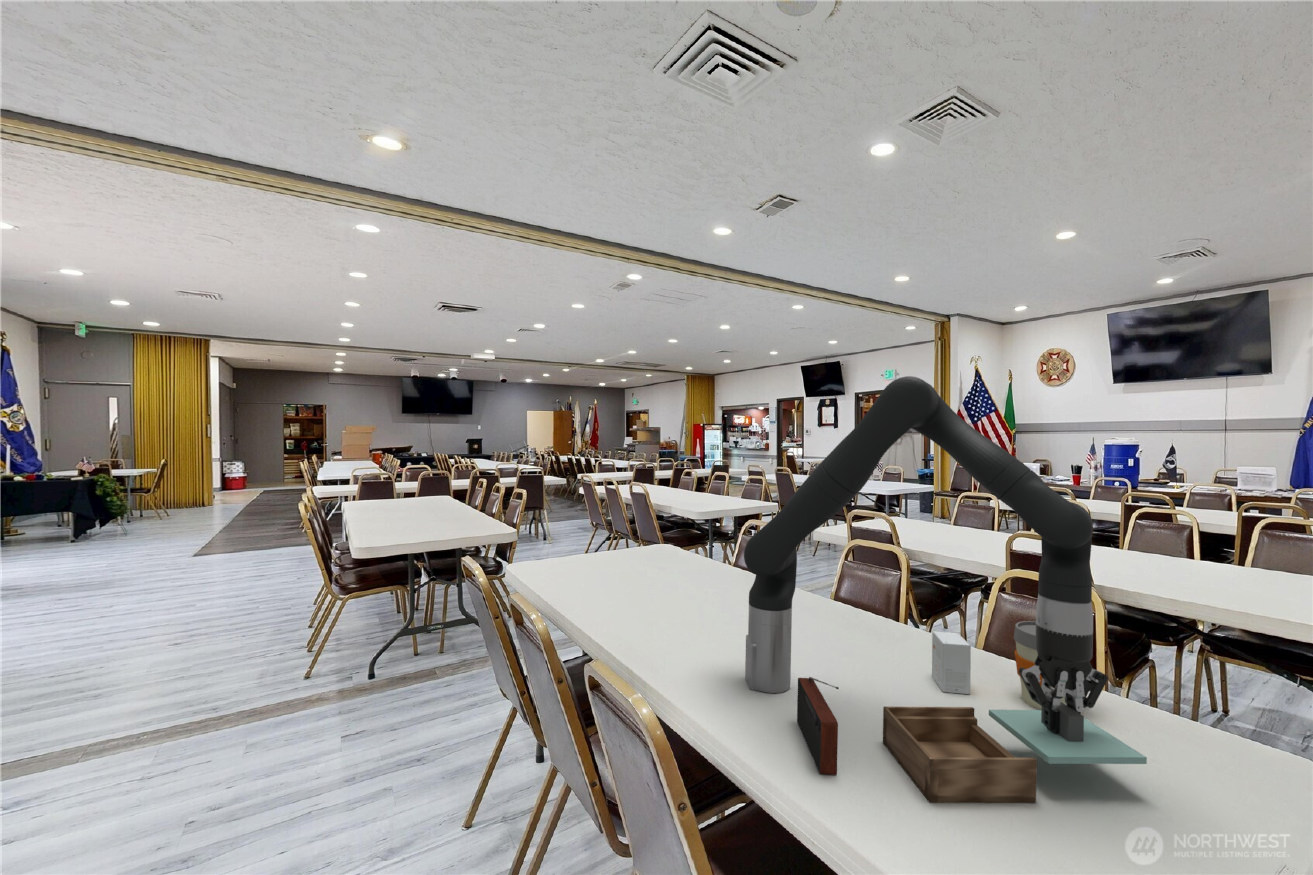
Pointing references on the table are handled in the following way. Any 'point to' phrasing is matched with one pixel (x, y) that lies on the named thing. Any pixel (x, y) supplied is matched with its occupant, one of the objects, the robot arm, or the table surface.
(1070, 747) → the cover plate
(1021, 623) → the reusable coffee cup
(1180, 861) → the table surface
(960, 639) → the small box
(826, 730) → the radio
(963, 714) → the walnut box
